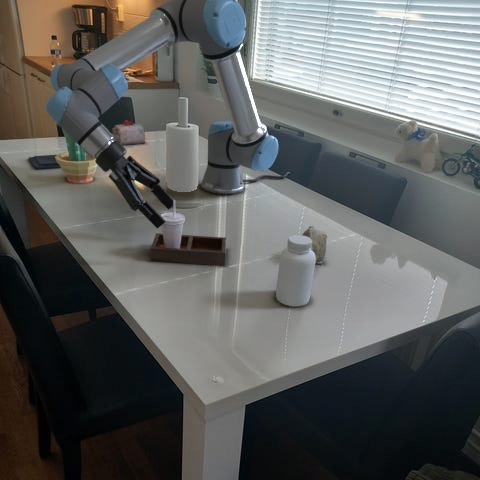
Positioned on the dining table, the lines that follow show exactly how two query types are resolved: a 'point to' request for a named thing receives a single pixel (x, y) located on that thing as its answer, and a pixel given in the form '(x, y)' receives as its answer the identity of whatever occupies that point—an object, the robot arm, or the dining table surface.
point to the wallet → (44, 162)
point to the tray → (190, 250)
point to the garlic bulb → (317, 242)
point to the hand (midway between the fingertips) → (167, 215)
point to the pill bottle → (296, 271)
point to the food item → (129, 133)
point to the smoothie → (172, 228)
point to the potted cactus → (76, 162)
